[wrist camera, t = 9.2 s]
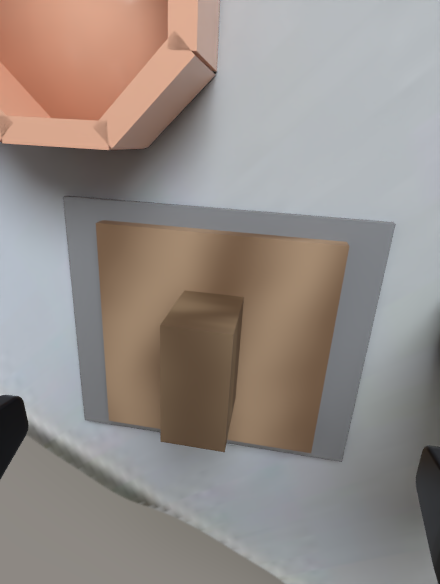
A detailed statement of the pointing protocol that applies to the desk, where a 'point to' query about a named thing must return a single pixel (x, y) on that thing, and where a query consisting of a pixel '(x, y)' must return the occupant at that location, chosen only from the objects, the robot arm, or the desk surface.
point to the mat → (357, 233)
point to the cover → (217, 332)
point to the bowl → (101, 69)
